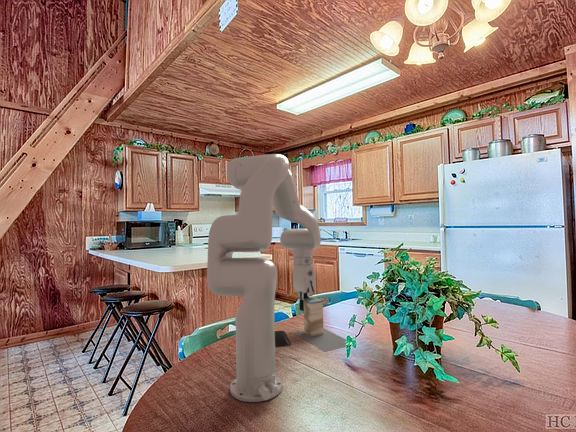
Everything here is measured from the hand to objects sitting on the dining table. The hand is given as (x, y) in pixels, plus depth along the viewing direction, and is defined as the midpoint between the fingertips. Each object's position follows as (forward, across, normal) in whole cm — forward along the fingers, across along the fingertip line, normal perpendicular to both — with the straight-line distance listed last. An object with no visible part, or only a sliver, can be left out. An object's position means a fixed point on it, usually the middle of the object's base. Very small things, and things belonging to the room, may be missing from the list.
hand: (304, 309), depth 119 cm
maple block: (+7, -6, 0) cm, 9 cm away
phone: (+8, -4, +14) cm, 17 cm away
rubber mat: (+8, -12, 0) cm, 14 cm away
